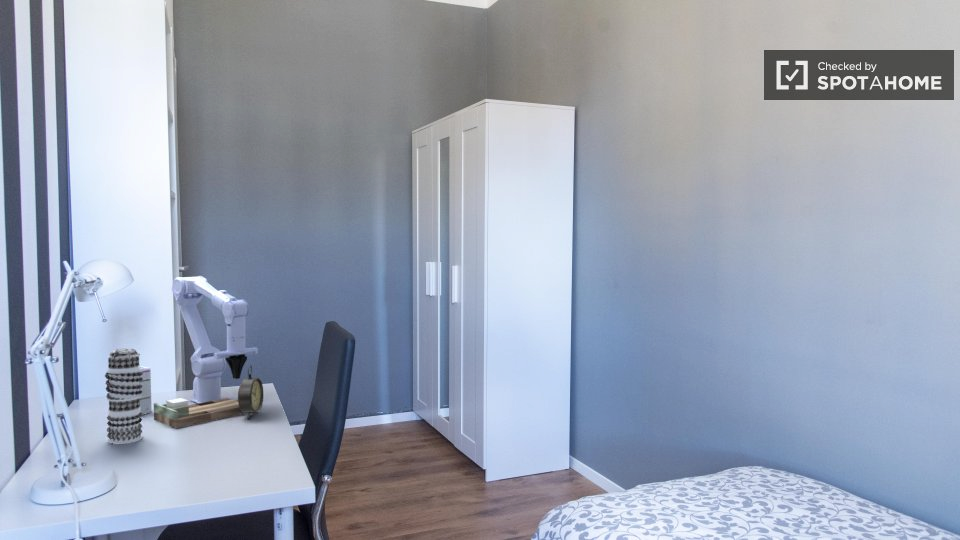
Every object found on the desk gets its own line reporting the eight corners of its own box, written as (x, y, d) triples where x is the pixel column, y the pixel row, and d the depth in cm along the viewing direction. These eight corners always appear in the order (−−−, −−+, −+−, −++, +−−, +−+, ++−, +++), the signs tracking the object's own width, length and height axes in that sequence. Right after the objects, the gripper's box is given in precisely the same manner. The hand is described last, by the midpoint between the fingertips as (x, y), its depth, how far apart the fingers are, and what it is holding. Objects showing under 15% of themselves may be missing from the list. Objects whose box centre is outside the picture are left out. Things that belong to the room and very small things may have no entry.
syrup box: (152, 412, 210) (151, 367, 209) (134, 416, 205) (133, 370, 204) (142, 409, 213) (141, 365, 212) (124, 413, 208) (123, 368, 207)
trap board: (153, 419, 202) (153, 403, 202) (227, 404, 220) (227, 390, 220) (175, 428, 193) (175, 411, 193) (249, 412, 211) (249, 397, 211)
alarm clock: (252, 420, 202) (252, 368, 201) (234, 420, 202) (234, 368, 201) (264, 411, 213) (264, 361, 212) (248, 411, 213) (247, 361, 212)
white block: (166, 413, 200) (166, 400, 200) (181, 410, 204) (181, 397, 203) (173, 416, 197) (173, 403, 197) (188, 413, 201) (188, 400, 200)
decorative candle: (104, 446, 176) (102, 353, 175) (107, 436, 185) (106, 348, 183) (142, 442, 180) (141, 351, 179) (144, 433, 188) (143, 346, 187)
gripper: (221, 341, 207) (221, 383, 208) (262, 336, 218) (262, 376, 219) (210, 338, 212) (210, 380, 212) (251, 333, 223) (251, 373, 224)
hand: (236, 378), depth 216 cm, fingers closed
